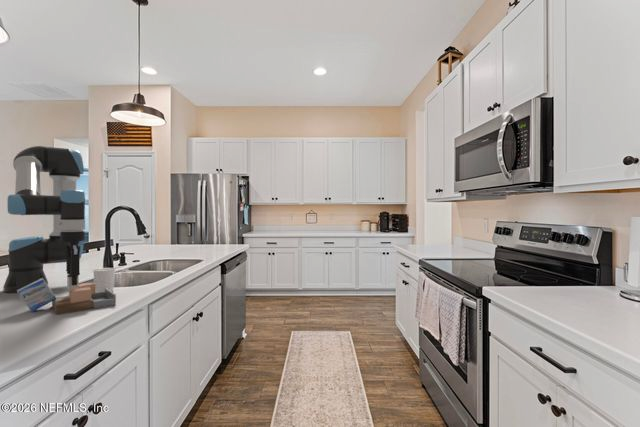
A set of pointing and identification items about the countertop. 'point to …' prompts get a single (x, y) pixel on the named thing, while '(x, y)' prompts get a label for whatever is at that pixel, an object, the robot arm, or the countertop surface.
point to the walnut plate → (70, 305)
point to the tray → (103, 299)
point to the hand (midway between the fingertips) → (72, 292)
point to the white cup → (104, 279)
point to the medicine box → (36, 294)
